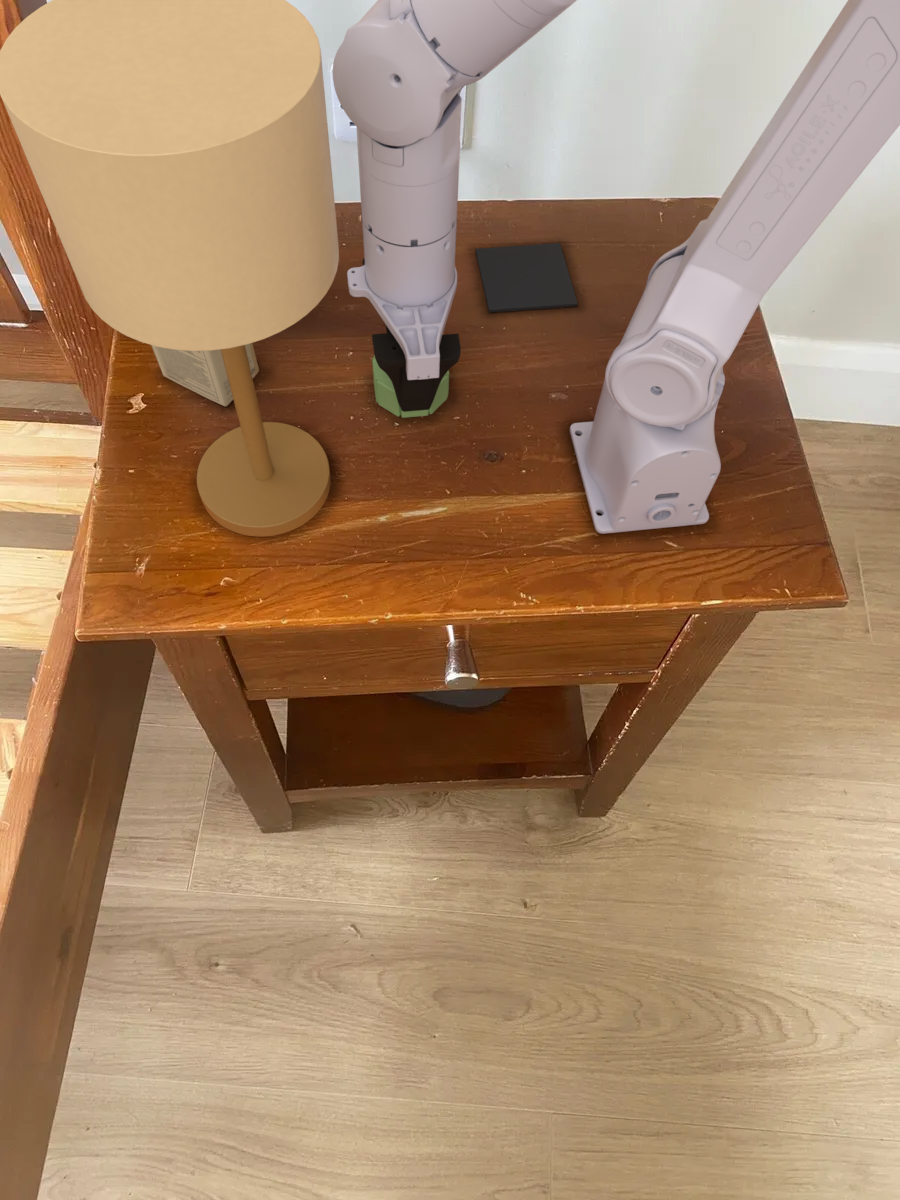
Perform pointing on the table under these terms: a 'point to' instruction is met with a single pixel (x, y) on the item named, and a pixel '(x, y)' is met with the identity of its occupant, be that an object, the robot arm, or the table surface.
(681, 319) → the robot arm
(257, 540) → the table surface
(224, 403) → the cosmetic box
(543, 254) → the coaster
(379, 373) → the ring
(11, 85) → the lamp
